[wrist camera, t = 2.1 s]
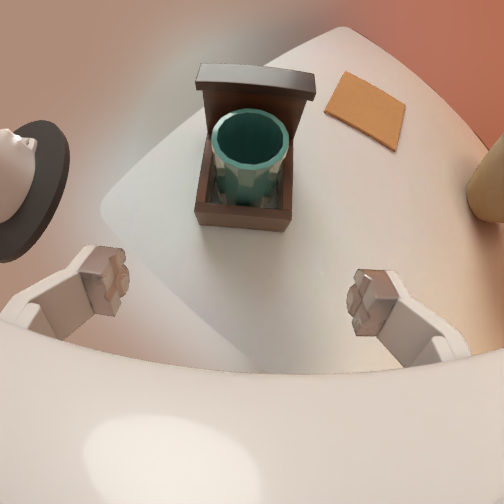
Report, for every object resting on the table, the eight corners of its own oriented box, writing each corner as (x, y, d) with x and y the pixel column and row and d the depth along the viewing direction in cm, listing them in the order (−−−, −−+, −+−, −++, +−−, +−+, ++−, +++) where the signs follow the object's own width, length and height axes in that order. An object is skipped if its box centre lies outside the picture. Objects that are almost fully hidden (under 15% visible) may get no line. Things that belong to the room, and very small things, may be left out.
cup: (208, 200, 32) (196, 150, 21) (234, 158, 33) (234, 99, 22) (257, 224, 31) (268, 182, 21) (280, 180, 33) (300, 126, 22)
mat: (323, 111, 35) (324, 109, 35) (344, 72, 38) (345, 70, 37) (394, 151, 35) (395, 150, 35) (404, 106, 37) (405, 105, 37)
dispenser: (287, 232, 31) (321, 183, 18) (195, 224, 31) (172, 170, 18) (289, 145, 34) (314, 73, 21) (209, 138, 33) (200, 62, 20)
